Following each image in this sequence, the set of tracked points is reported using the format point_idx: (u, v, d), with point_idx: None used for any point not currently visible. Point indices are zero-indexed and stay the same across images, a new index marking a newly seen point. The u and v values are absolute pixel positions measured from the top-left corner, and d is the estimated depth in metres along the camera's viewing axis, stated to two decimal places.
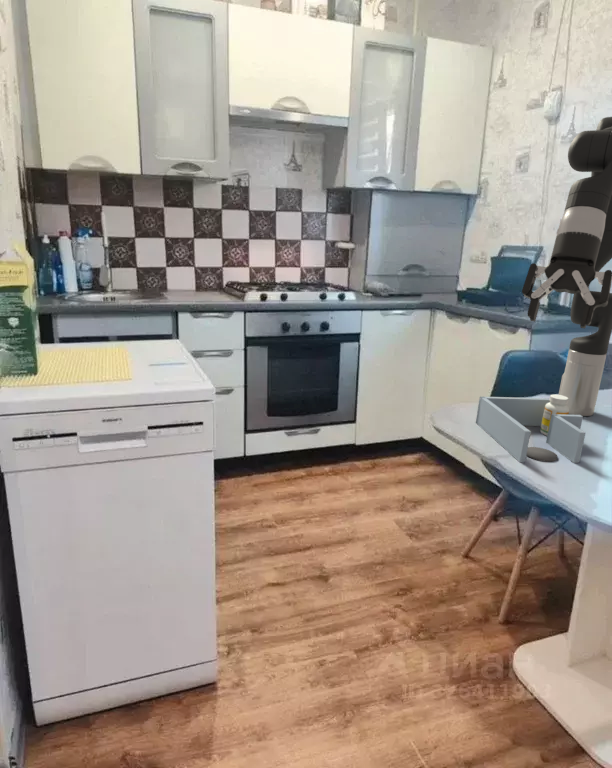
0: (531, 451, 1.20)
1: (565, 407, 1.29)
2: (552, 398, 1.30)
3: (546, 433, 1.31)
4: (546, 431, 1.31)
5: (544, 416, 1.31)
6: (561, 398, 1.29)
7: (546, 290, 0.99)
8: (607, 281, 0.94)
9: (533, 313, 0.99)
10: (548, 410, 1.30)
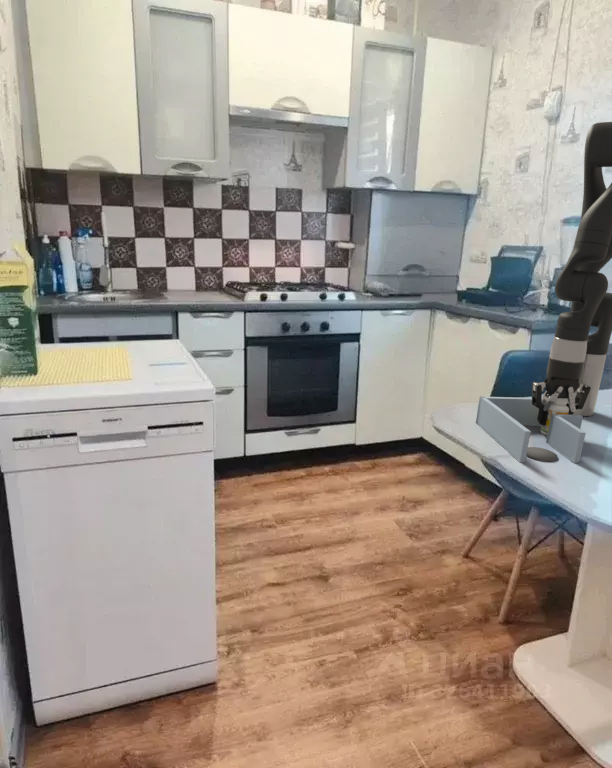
0: (531, 451, 1.20)
1: (565, 407, 1.29)
2: None
3: (546, 433, 1.31)
4: (546, 431, 1.31)
5: None
6: (561, 398, 1.29)
7: None
8: (586, 394, 1.29)
9: (545, 421, 1.30)
10: (548, 410, 1.30)
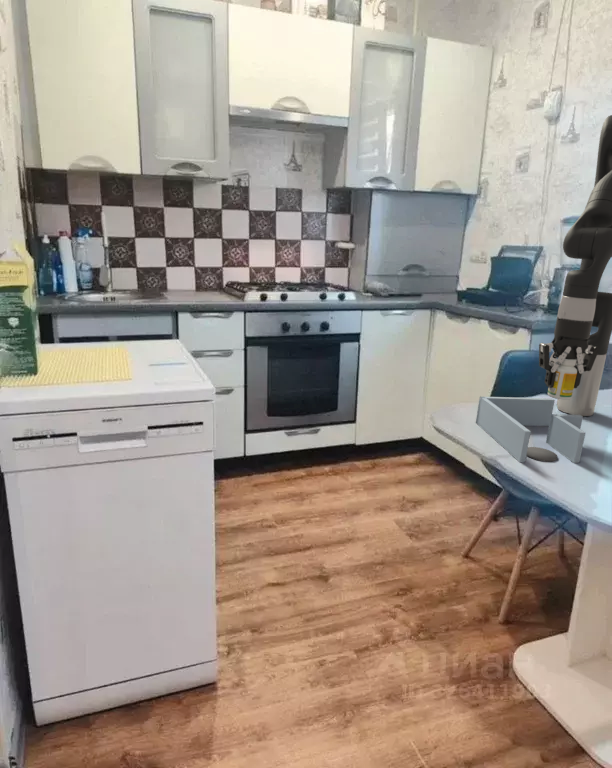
0: (531, 451, 1.20)
1: (573, 368, 1.26)
2: None
3: (554, 395, 1.28)
4: (554, 393, 1.28)
5: None
6: (569, 359, 1.26)
7: None
8: (594, 355, 1.27)
9: (552, 383, 1.28)
10: (556, 372, 1.27)
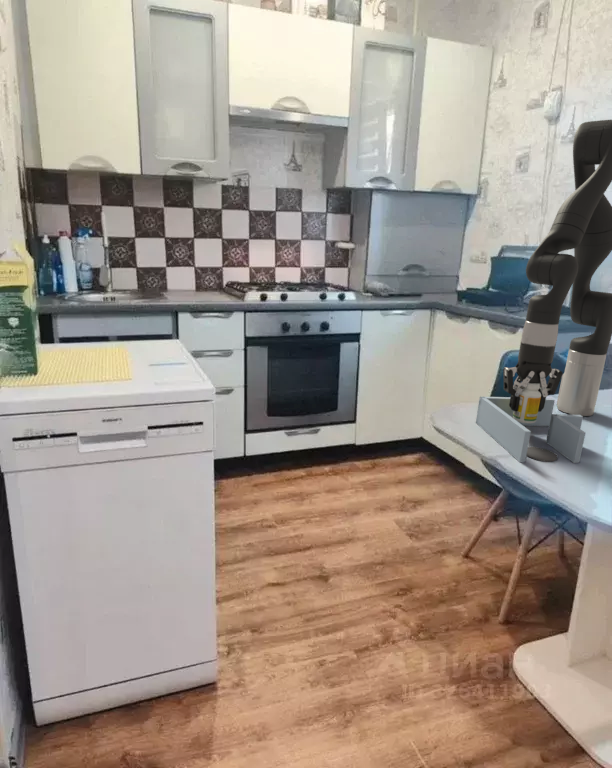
0: (531, 451, 1.20)
1: (537, 392, 1.27)
2: None
3: (518, 419, 1.29)
4: (518, 417, 1.29)
5: None
6: (533, 383, 1.27)
7: None
8: (558, 379, 1.27)
9: (517, 407, 1.28)
10: (520, 396, 1.28)
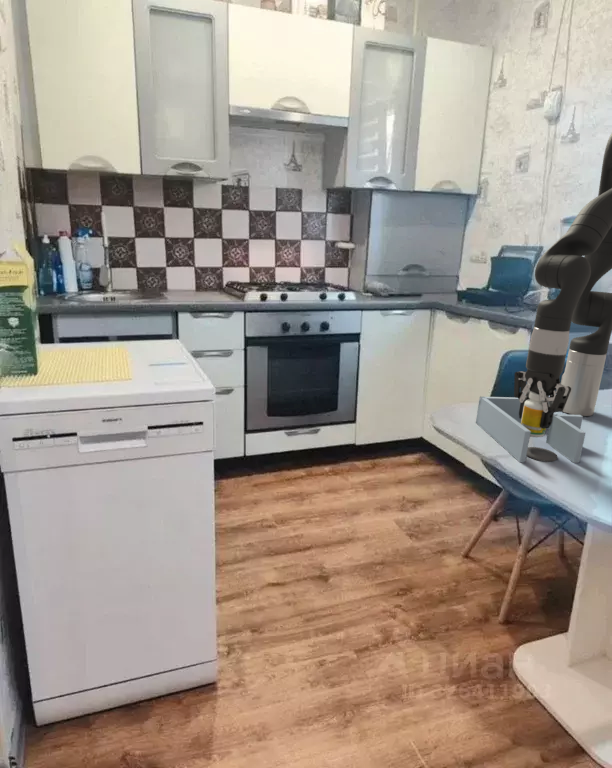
0: (531, 451, 1.20)
1: (535, 403, 1.18)
2: None
3: None
4: None
5: None
6: (535, 393, 1.19)
7: (528, 394, 1.21)
8: (558, 396, 1.13)
9: (521, 414, 1.23)
10: None
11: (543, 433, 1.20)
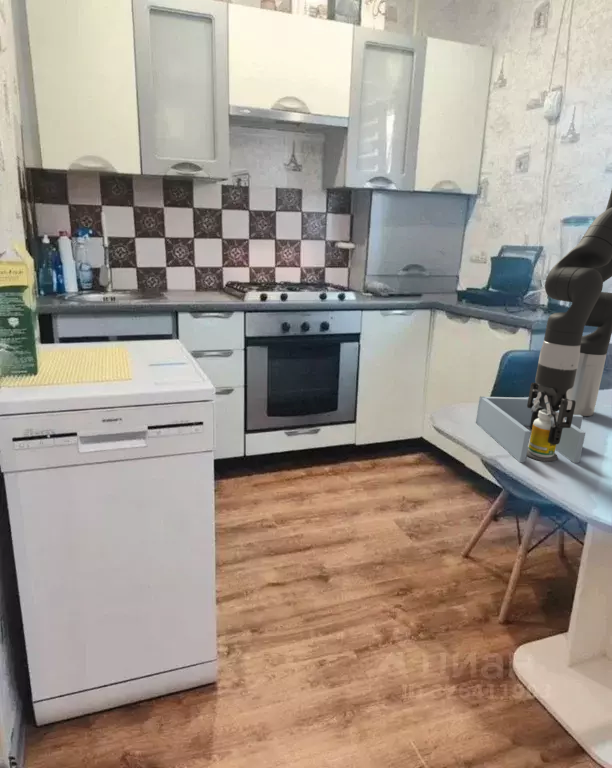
0: None
1: (541, 422, 1.16)
2: None
3: None
4: None
5: None
6: (543, 412, 1.16)
7: (538, 407, 1.19)
8: (561, 409, 1.10)
9: (531, 425, 1.21)
10: None
11: (550, 454, 1.17)
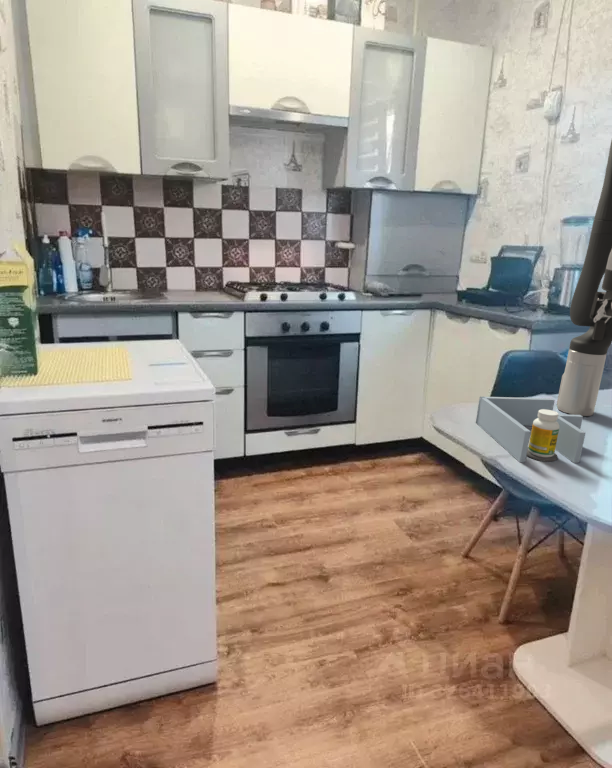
0: None
1: (541, 422, 1.16)
2: None
3: None
4: None
5: None
6: (542, 412, 1.16)
7: (603, 316, 1.19)
8: None
9: (593, 335, 1.21)
10: None
11: (550, 454, 1.17)
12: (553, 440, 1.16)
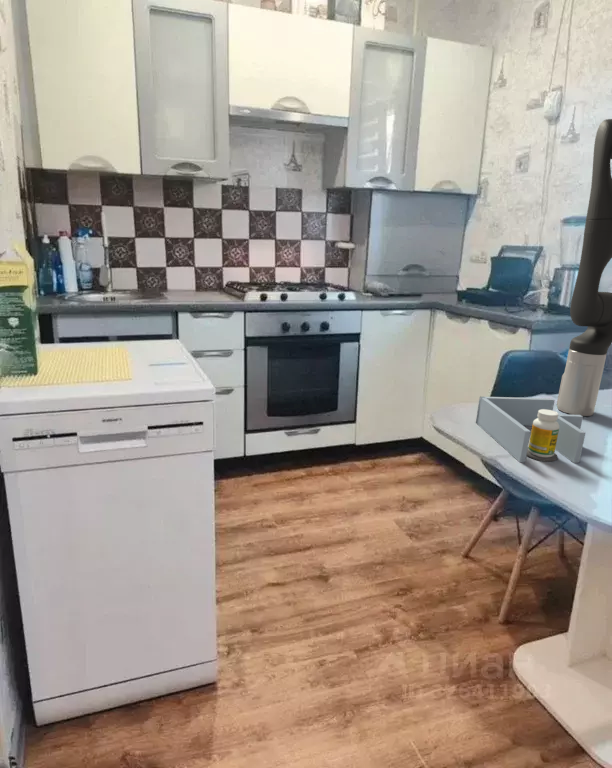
0: None
1: (541, 422, 1.16)
2: None
3: None
4: None
5: None
6: (542, 412, 1.16)
7: None
8: None
9: None
10: None
11: (550, 454, 1.17)
12: (553, 440, 1.16)
